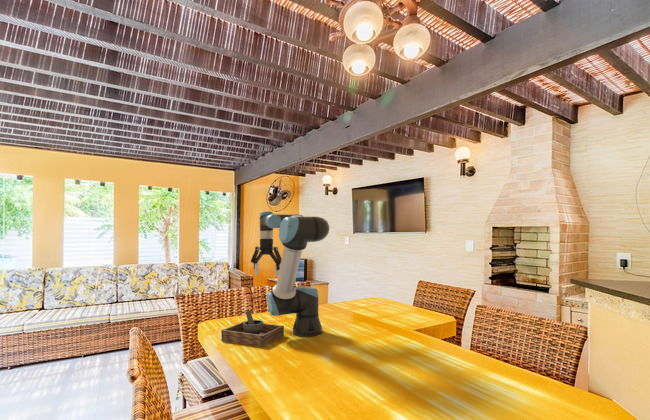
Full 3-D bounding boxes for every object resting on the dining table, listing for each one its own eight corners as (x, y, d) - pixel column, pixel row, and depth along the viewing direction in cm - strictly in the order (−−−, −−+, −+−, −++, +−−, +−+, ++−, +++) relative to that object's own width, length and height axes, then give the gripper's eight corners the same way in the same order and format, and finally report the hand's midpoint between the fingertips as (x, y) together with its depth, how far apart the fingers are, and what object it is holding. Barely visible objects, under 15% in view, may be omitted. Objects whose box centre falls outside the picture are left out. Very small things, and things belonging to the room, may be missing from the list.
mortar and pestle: (266, 336, 171) (266, 312, 172) (249, 341, 165) (249, 315, 166) (255, 332, 180) (255, 308, 180) (238, 335, 173) (238, 311, 174)
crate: (283, 336, 175) (283, 325, 175) (262, 347, 159) (262, 336, 159) (244, 330, 185) (244, 321, 185) (221, 340, 169) (221, 330, 169)
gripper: (288, 238, 200) (288, 275, 199) (252, 237, 210) (252, 273, 209) (281, 238, 193) (281, 277, 192) (244, 238, 203) (244, 275, 202)
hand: (266, 275), depth 201 cm, fingers open, 13 cm apart
